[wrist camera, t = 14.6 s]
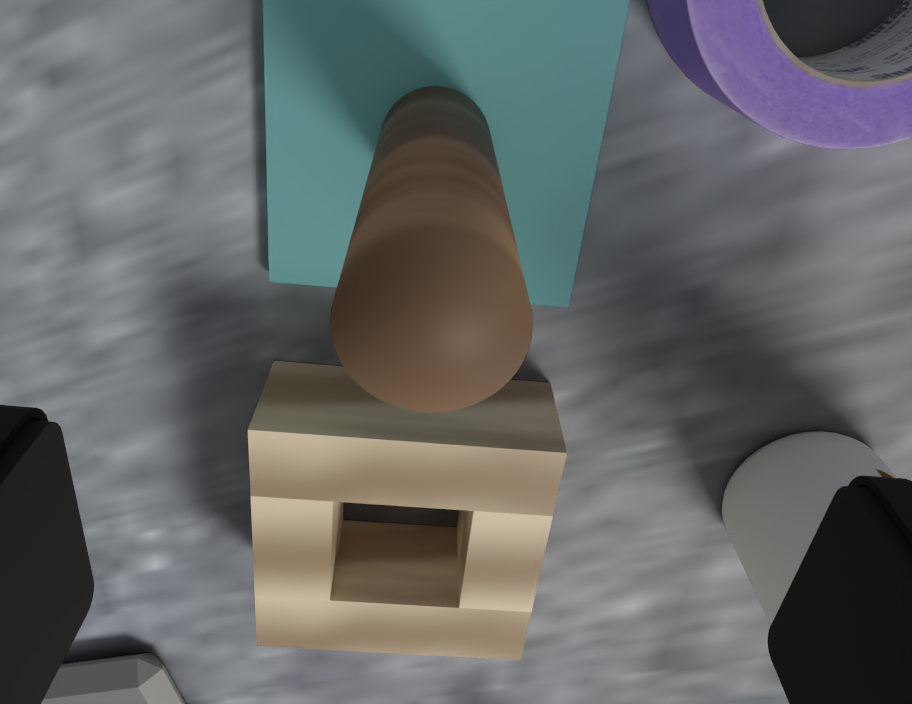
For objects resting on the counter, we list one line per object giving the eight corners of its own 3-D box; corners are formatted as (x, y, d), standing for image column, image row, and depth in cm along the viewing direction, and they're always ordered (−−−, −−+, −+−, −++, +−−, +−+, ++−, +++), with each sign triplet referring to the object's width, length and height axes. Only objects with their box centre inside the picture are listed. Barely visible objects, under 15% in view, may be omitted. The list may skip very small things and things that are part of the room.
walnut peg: (382, 80, 26) (332, 224, 14) (497, 92, 26) (548, 244, 14) (376, 192, 28) (328, 405, 16) (483, 202, 28) (517, 419, 16)
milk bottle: (703, 547, 38) (923, 1074, 21) (736, 423, 34) (1041, 942, 17) (852, 549, 38) (1192, 1070, 21) (902, 426, 34) (1371, 940, 17)
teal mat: (265, -65, 24) (261, -65, 24) (630, -23, 25) (634, -21, 24) (271, 275, 30) (269, 281, 29) (566, 301, 31) (568, 307, 30)
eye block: (273, 360, 32) (247, 429, 28) (550, 382, 33) (567, 453, 28) (277, 562, 38) (257, 645, 34) (511, 577, 39) (520, 660, 34)
